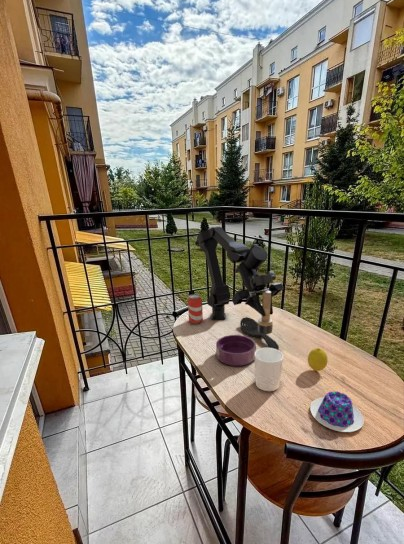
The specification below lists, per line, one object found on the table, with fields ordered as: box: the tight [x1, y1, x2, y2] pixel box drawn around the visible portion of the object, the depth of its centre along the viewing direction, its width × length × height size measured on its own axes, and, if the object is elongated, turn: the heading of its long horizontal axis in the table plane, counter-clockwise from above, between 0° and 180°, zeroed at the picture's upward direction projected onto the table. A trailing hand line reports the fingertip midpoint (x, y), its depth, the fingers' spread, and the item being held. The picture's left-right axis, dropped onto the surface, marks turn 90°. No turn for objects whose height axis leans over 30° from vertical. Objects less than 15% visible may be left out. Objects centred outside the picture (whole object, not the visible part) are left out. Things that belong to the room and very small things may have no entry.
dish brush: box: [257, 290, 274, 335], centre depth 96 cm, size 5×5×15 cm
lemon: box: [307, 347, 328, 372], centre depth 86 cm, size 6×6×8 cm
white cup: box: [254, 347, 284, 392], centre depth 80 cm, size 8×8×10 cm
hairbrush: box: [239, 316, 280, 351], centre depth 109 cm, size 8×4×25 cm
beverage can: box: [187, 293, 204, 325], centre depth 123 cm, size 6×6×12 cm
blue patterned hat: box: [309, 391, 365, 433], centre depth 68 cm, size 12×12×5 cm
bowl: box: [215, 334, 257, 367], centre depth 95 cm, size 13×13×5 cm
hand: (268, 315), depth 95 cm, fingers closed on dish brush, 3 cm apart
